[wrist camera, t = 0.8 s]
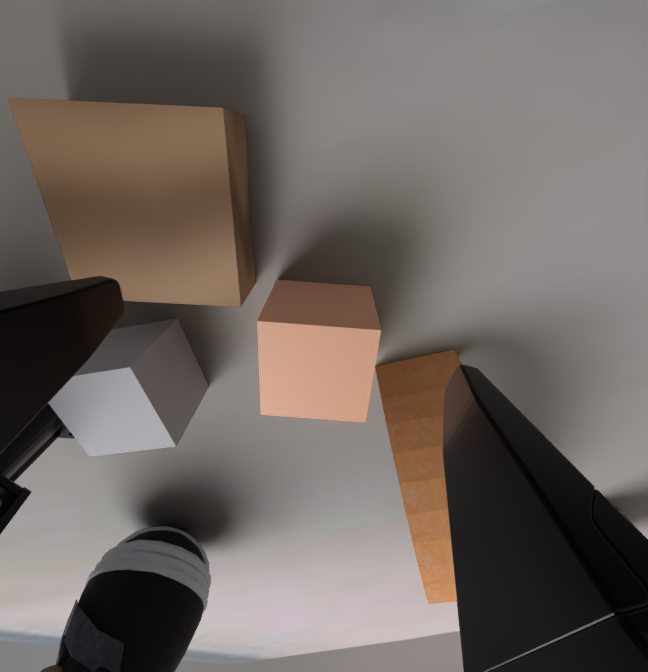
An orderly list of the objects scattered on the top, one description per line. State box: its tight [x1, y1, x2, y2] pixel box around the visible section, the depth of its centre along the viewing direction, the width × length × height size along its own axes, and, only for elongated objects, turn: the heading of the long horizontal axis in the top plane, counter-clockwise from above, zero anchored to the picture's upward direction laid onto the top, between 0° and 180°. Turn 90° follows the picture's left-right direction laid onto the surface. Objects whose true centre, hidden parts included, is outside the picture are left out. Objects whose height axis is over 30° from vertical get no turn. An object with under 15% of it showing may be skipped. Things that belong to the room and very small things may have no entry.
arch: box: [375, 350, 462, 604], centre depth 24 cm, size 6×20×10 cm, turn 15°
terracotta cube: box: [257, 280, 381, 422], centre depth 20 cm, size 6×6×6 cm
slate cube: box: [48, 318, 209, 457], centre depth 22 cm, size 6×6×6 cm
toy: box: [41, 526, 211, 672], centre depth 26 cm, size 11×11×20 cm
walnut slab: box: [8, 98, 255, 307], centre depth 18 cm, size 9×9×4 cm
